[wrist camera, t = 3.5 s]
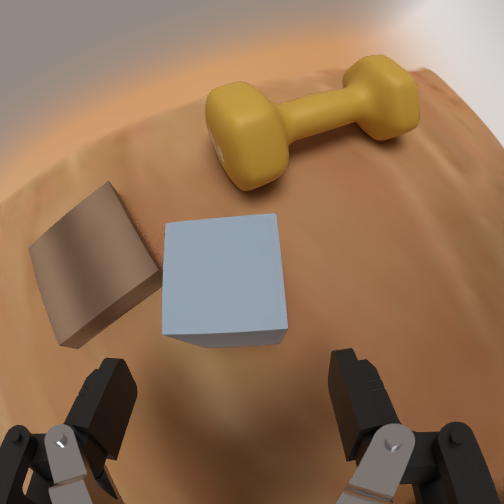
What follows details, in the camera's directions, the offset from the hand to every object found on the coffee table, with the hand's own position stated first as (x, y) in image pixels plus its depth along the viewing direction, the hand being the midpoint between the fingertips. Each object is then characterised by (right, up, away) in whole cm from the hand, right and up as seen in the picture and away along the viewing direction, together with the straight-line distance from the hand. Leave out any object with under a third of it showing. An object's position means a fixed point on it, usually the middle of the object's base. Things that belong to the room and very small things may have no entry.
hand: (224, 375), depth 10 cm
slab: (-12, +3, +12) cm, 17 cm away
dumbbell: (+7, +15, +16) cm, 23 cm away
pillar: (0, 0, +10) cm, 10 cm away
